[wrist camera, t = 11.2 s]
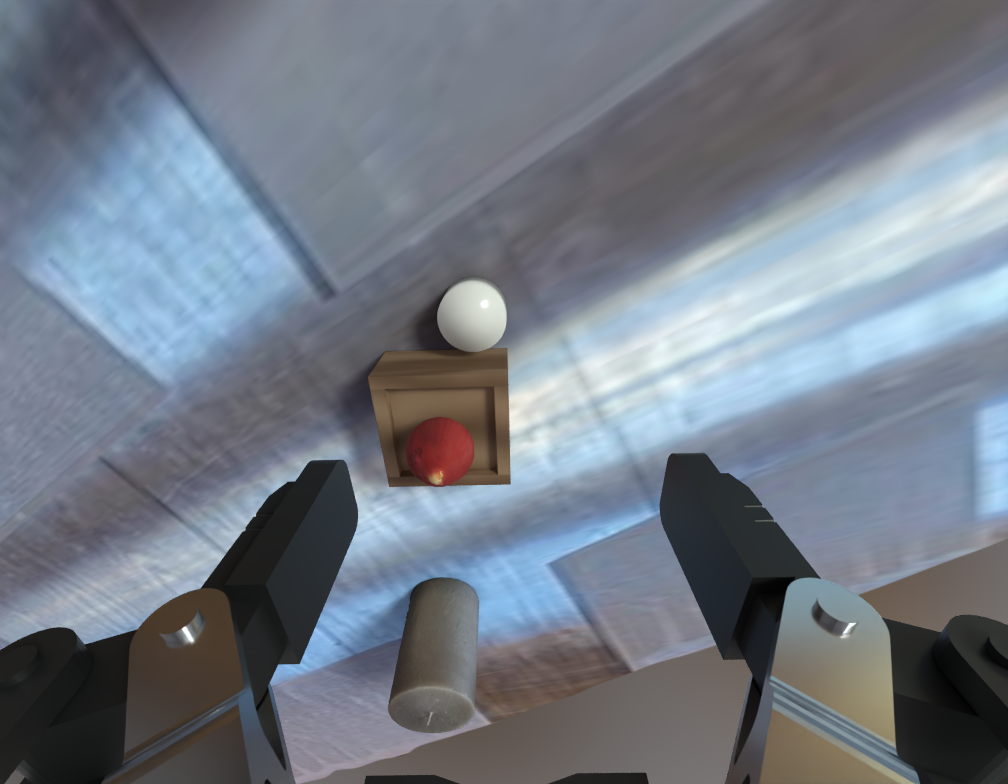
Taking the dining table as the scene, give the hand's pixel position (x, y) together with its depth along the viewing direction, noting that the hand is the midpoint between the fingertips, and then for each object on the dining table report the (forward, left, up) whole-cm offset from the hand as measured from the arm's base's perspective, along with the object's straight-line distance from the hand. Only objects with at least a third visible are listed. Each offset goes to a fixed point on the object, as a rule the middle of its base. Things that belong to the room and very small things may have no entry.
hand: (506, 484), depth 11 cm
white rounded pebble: (+4, -3, -30) cm, 31 cm away
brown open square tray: (+14, -6, -30) cm, 34 cm away
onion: (+14, -6, -25) cm, 29 cm away
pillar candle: (+45, -9, -30) cm, 55 cm away
